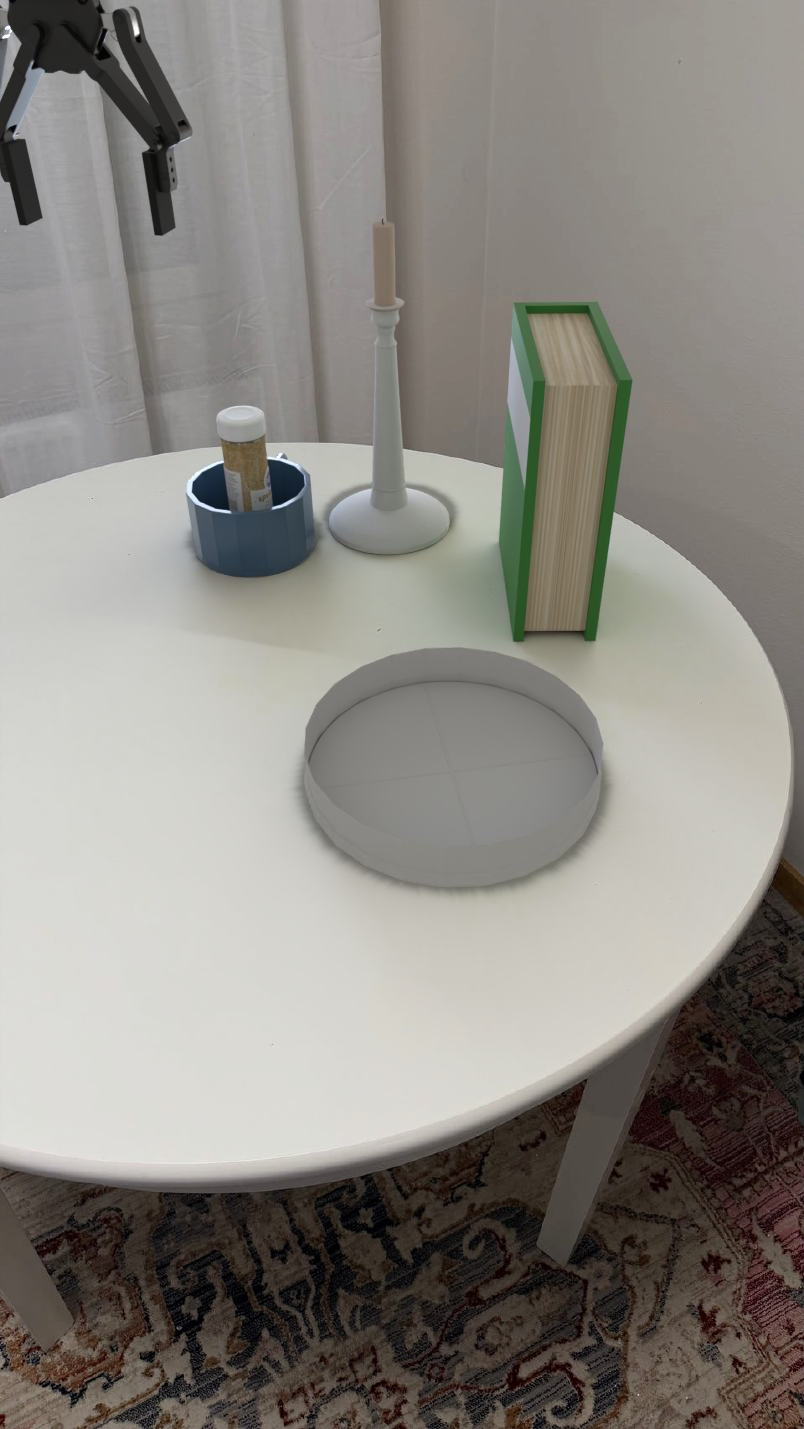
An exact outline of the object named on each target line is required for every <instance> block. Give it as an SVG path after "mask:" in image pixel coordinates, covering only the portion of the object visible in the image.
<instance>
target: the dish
mask: <svg viewBox="0 0 804 1429" xmlns="http://www.w3.org/2000/svg"><path fill="white" fill-rule="evenodd" d="M304 731H305V732H304V751H303V754H304V755H303V756H304V773H303V785H304V790H305V795H306V798H307V800H308V803H309V806H310V809H311V812H312V815H313V818H314V820H315V822H316V823H317V824H318V825H319V827H320V828H321V829H322V830H323V832H324V833H325V834H326V836H327V837H328V839H329V840H331V842H332V843H333V845H334V846H336V847H337V848H339V849H340V850H341V851H342V852H344V853H346V854H347V855H348V856H349V857H351V858H352V859H354V860H355V861H357V862H358V863H360V864H361V865H362V866H364V867H366V868H369V869H371V870H374V871H376V872H379V873H381V874H384V875H387V876H389V877H392V878H394V879H396V880H398V881H402V882H408V883H414V884H419V885H424V886H425V885H426V886H431V887H438V888H467V887H470V888H471V887H487V886H488V887H489V886H491V885H492V886H493V885H495V884H499V883H503V882H507V881H511V880H515V879H519V878H523V877H526V876H528V875H531V874H532V873H534V872H536V871H538V870H539V869H542V868H543V867H545V866H547V865H549V864H551V863H553V862H555V861H557V860H559V859H560V858H561V857H562V856H563V855H564V854H565V853H567V852H568V851H569V849H571V848H572V847H573V846H574V845H575V844H576V843H577V842H578V841H579V840H581V838H583V836H584V835H585V833H586V831H587V829H588V827H589V825H590V823H591V821H592V819H593V817H594V815H595V813H596V811H597V809H598V808H597V807H598V802H599V800H600V795H601V794H600V793H601V783H602V776H603V771H602V759H603V751H604V741H603V737H602V734H601V731H600V727H599V722H598V719H597V718H596V716H595V714H594V713H593V712H592V710H591V709H590V707H589V706H588V705H587V703H586V702H585V700H584V699H583V697H582V696H581V695H580V694H579V693H577V692H576V691H575V690H574V689H573V688H572V687H570V686H569V685H568V684H566V683H565V682H564V681H563V680H562V679H560V678H559V677H558V676H557V675H555V674H553V673H551V672H548V671H547V670H545V669H543V668H541V667H539V666H537V665H535V664H533V663H531V662H530V661H527V660H525V659H522V658H521V659H520V658H517V657H514V656H511V655H507V654H503V653H500V652H497V651H492V650H483V649H477V648H469V647H458V646H457V647H425V648H419V649H415V650H410V651H405V652H399V653H394V654H391V655H388V656H385V657H382V658H380V659H377V660H375V661H372V662H369V663H366V664H364V665H362V666H360V667H358V668H357V669H355V670H354V671H352V672H351V673H349V674H347V675H346V676H344V677H342V678H341V679H340V680H338V681H336V682H335V683H334V684H333V685H332V686H331V687H330V689H328V691H327V692H325V694H324V695H323V696H322V697H321V698H320V699H319V701H317V703H316V704H315V706H314V708H313V711H312V713H311V715H310V717H309V720H308V721H307V724H306V726H305V730H304Z"/></svg>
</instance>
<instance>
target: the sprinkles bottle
mask: <svg viewBox="0 0 804 1429" xmlns="http://www.w3.org/2000/svg"><path fill="white" fill-rule="evenodd" d="M215 418H216V419H215V420H216V428H217V430H216V431H217V435H218V437H219V439H220V444H221V451H222V459H223V461H224V472H225V479H226V487H227V494H228V501H229V508H230V511H235V512H241V511H257V510H263V509H267V508H271V507H273V502H272V493H271V483H270V475H269V467H268V462H267V461H268V460H267V457H268V453H267V452H268V451H267V444H266V432H267V426H266V425H267V424H266V416H265V413H264V411H263V410H261V409H260V408H259V407H256V406H252V405H234V406H229V407H227V408H224V409H221V411H219V412H218V413H217V415H216V417H215Z"/></svg>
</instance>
